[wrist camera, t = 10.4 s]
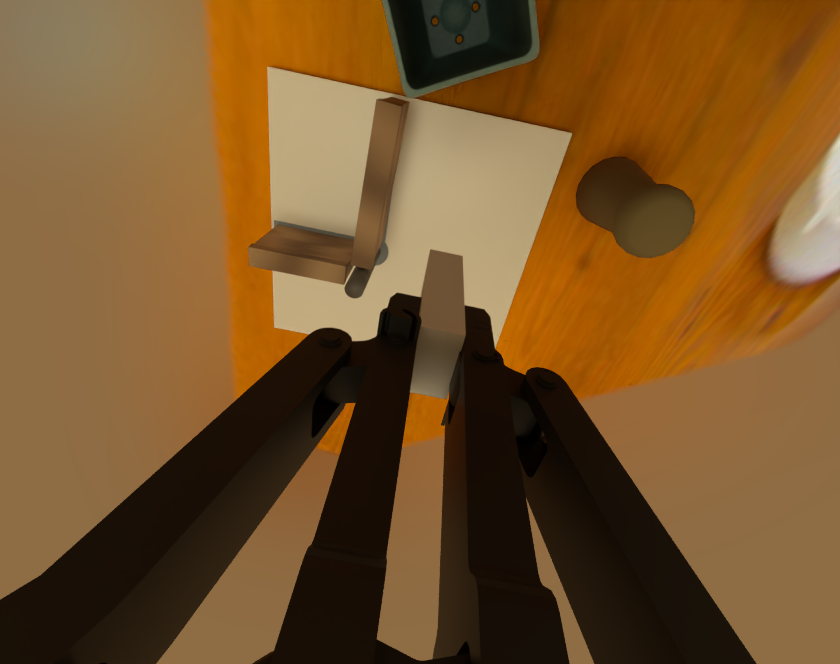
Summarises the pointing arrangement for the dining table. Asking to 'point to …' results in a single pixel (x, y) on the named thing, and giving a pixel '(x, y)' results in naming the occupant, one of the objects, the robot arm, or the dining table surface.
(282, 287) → the card
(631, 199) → the cork
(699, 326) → the dining table surface
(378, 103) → the fence panel
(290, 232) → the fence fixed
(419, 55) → the flower pot
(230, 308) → the dining table surface
